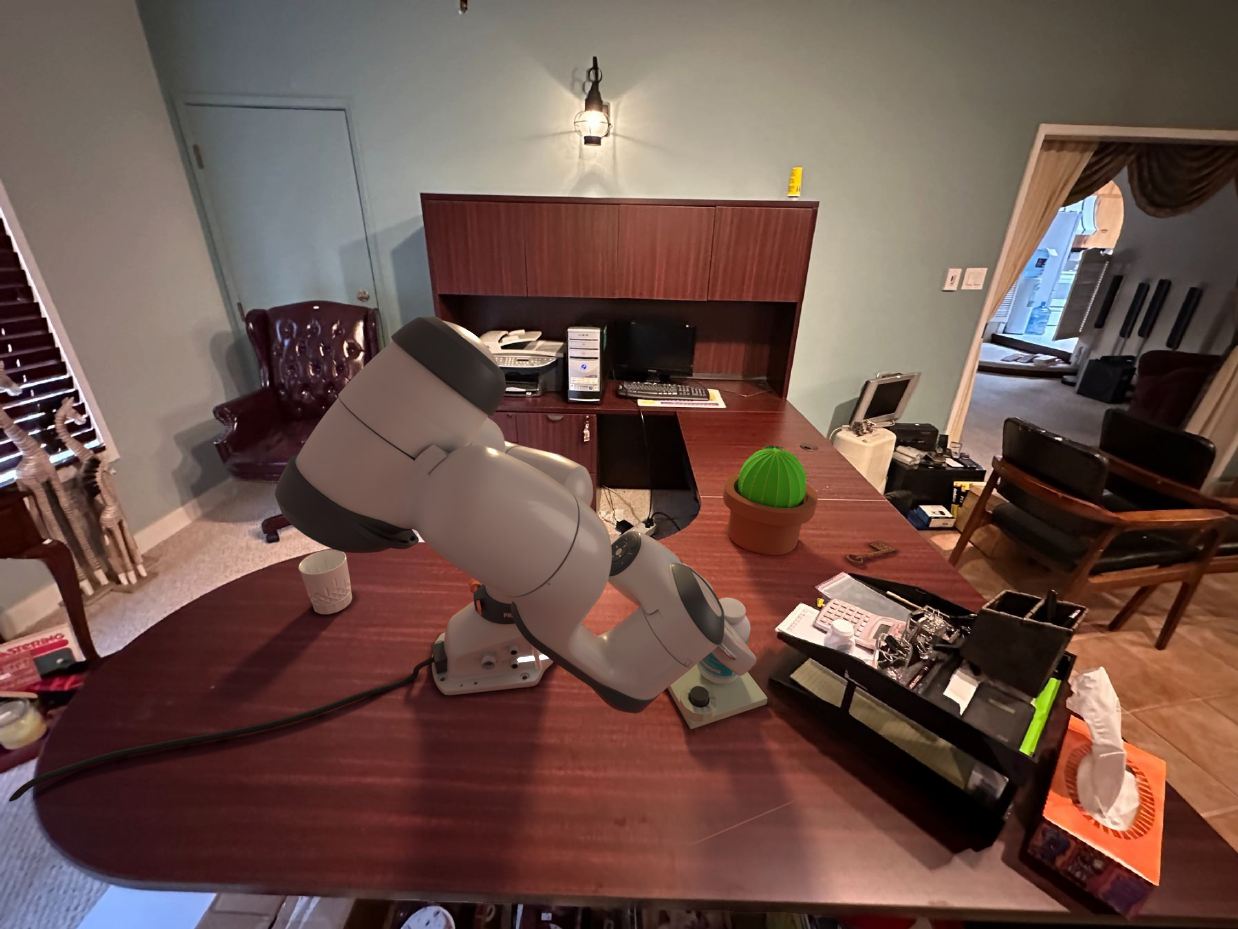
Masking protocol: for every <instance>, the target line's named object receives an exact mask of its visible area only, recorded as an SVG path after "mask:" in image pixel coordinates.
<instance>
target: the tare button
mask: <svg viewBox="0 0 1238 929" xmlns="http://www.w3.org/2000/svg"><path fill="white" fill-rule="evenodd" d="M708 697H709V693H708V691H707V690H706V689H705V688H704V687H702V686H695V687H693V688H692V689H691V693H690V702H691V703H692V705H694V706H695V707H700V708H702V707H705V706H706V705H707V703H708Z"/></svg>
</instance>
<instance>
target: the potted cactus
mask: <svg viewBox="0 0 1238 929" xmlns="http://www.w3.org/2000/svg"><path fill="white" fill-rule="evenodd" d="M792 452H793V451H788V450H787V448H784V447H783V446H781V445H780V446H779V445H776V446H774V445H772V444H767V445H764V447H762V448H761V449H759V450H756V451H755V452H754V453H753V454H752V455H750V456H748V458H746V457H745V459H746V460H745V461H744V462H743V464H742V466H741V467H739V469H740V470H738V472H735V473H734V474H732V475H730V476H728V478H727V479H726V480H725V481H724V486H723V492H722V500H723V503H724V505H725V507H727V509H729V516H728V523H727V529H726V531H727V535H728V538H729V539H730V540H731V541H732V542H733V543H734V544H736V545H737V546H738V547H740V548H742V549H745V550H747V551H750V552H752V553H756V554H760V555H765V556H782V555H783V556H784V555H786V554H789V553H791V552H792V551H793V550H794V549H795V548H796V546H797V545H798V541H799V537H800V532H801V528H802V525H804V524H806V523H808V522H809V521H810V520H812V519H813V517H814V515H815V513H816V509H817V505H818V500H819V499H818V498H819V497H818V494H817V492H816V491H815V489H814V488H813V487H811V486H810V485H809V484H807V482H808V481H809V480H808V479H807V475H808V472H806V470H805V468H804V465H803V461H801V462H800V460H799V459H798V455H794V454H793V453H792Z"/></svg>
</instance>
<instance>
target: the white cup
mask: <svg viewBox="0 0 1238 929" xmlns="http://www.w3.org/2000/svg"><path fill="white" fill-rule="evenodd" d="M298 571H299V573H300V576H301V579H302V583H303V586H304V588H305V591H306V593H307V596H308V599H309V600H310V602H311V605H312V607H313V610H314V612H315V613H317V614H320V615H330V614H331V615H332V614H335V613H338V612H340V611H343V610H344V609H346V608H347V607H348V606H349V605H350V604H351V602H352V600H353V594H352V587H351V586H352V584H351V576H350V570H349V565H348V558H347V554H346V552H341V551H337V550H334V549H325V550H320V551H317V552H314V553H312V554H309V555H307V556H306V557H304V558H303V559H302V560H301V561H300V562H299V565H298Z"/></svg>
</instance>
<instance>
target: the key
mask: <svg viewBox="0 0 1238 929" xmlns="http://www.w3.org/2000/svg"><path fill="white" fill-rule="evenodd" d="M869 545H870V547H873V548H874V549H877V550H878V551H875V552H870V553H865V554H861V555H859V556H858V555H855V554H848V555H846V559H847V560H848V561H849V562H851V563H852V564H856V565H861V564H863V563H864V559H869V558H871V557H876V556H879V555H880V556H881V555H884V554H887V553H891V552H895V551H897V547H891V546H889V545H887V544H885V543H884V542H882V541H878V542H874V543H870V544H869ZM852 558H854V559H855V560H854V559H852ZM858 560H859V561H858Z"/></svg>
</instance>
